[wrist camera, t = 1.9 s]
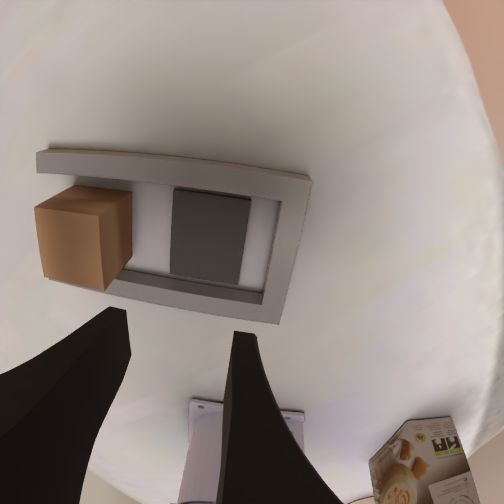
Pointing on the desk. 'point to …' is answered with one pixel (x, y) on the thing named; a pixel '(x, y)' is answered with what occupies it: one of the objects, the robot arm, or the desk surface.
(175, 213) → the pad
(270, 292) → the guide channel
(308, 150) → the desk surface
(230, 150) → the desk surface
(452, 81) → the desk surface
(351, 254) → the desk surface
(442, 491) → the coffee box
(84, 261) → the walnut block
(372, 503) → the cup
